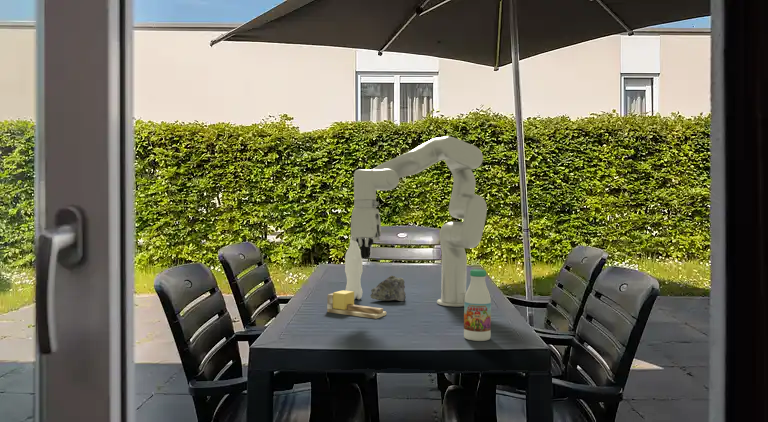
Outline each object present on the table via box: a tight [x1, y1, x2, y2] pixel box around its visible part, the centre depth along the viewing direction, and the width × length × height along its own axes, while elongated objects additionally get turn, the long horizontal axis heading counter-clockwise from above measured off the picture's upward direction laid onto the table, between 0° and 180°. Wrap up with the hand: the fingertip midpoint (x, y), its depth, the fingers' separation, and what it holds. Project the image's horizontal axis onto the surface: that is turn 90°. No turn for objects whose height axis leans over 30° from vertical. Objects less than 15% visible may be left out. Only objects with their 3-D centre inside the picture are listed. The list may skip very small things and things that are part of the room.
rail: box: [326, 292, 387, 320], centre depth 196 cm, size 20×7×6 cm, turn 60°
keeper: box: [332, 289, 355, 310], centre depth 198 cm, size 5×6×6 cm
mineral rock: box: [370, 275, 407, 302], centre depth 221 cm, size 13×11×10 cm
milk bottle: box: [463, 269, 492, 342], centre depth 163 cm, size 8×8×20 cm
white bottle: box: [344, 235, 364, 301], centre depth 223 cm, size 7×7×25 cm
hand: (365, 257), depth 194 cm, fingers closed
